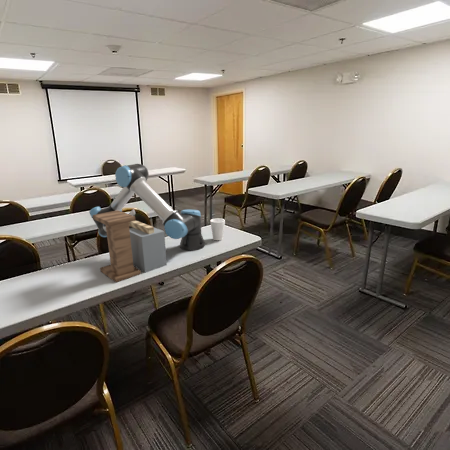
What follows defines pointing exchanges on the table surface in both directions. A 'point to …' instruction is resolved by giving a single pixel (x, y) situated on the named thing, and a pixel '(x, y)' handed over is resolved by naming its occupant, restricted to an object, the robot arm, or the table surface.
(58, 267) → the table surface
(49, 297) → the table surface
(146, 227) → the notched tan bar
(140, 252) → the grey block
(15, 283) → the table surface
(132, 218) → the walnut stand
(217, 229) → the foam cup
